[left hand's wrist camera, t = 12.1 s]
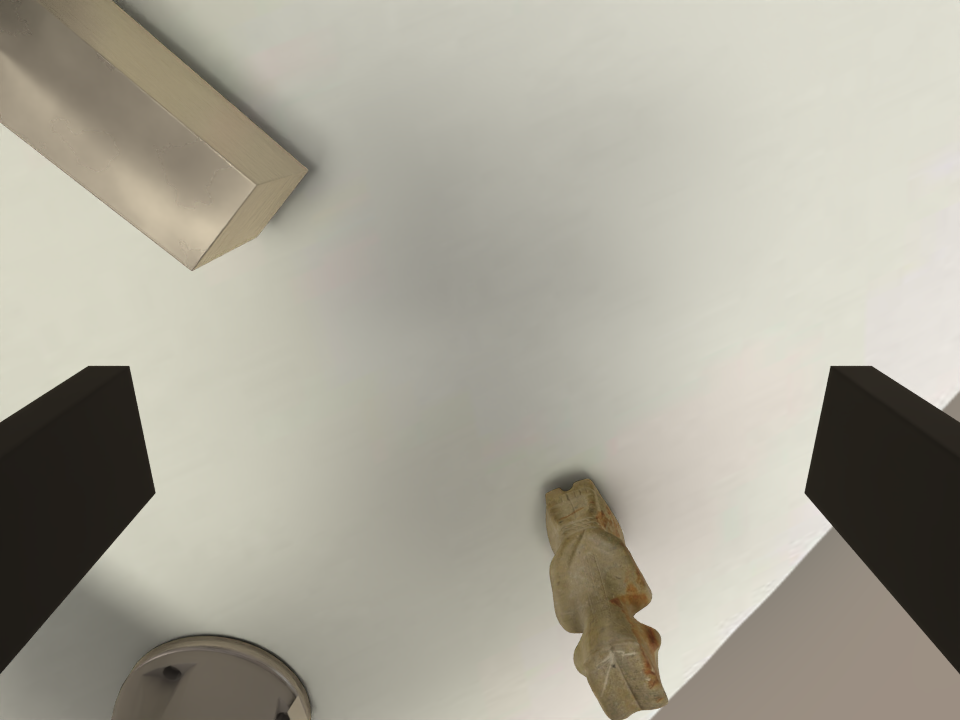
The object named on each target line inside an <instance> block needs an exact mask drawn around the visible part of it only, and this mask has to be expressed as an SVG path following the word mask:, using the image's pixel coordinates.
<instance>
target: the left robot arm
mask: <svg viewBox="0 0 960 720" xmlns="http://www.w3.org/2000/svg"><path fill="white" fill-rule="evenodd" d="M154 494H155V488H154V483H153V478H152V474H151V469H150V464H149V459H148V454H147V449H146V445H145V440H144V435H143V430H142V425H141V420H140V415H139V411H138V406H137V401H136V396H135V391H134V386H133V382H132V377H131V372H130V367H129V366H88V367H86V368H84V369H83V370H81V371H80V372H78V373H77V374H75V375H74V376H72V377H70V378H69V379H67V380H66V381H64V382H63V383H61V384H60V385H58V386H56V387H55V388H53V389H52V390H50V391H49V392H47V393H45V394H44V395H42V396H41V397H39V398H38V399H36V400H35V401H33V402H31V403H30V404H28V405H27V406H25V407H24V408H22V409H21V410H19V411H17V412H16V413H14V414H13V415H11V416H10V417H8V418H6V419H5V420H3V421H2V422H0V674H1V672H2V671H3V670H4V669H5V668H6V667H7V665H8V664H9V663H10V662H11V661H12V660H13V658H14V657H15V656H16V655H17V654H18V653H19V651H20V650H21V649H22V648H23V647H24V646H25V644H26V643H27V642H28V641H29V640H30V639H31V637H32V636H33V635H34V634H35V633H36V632H37V630H38V629H39V628H40V627H41V626H42V625H43V624H44V622H45V621H46V620H47V619H48V618H49V617H50V615H51V614H52V613H53V612H54V611H55V610H56V608H57V607H58V606H59V605H60V604H61V603H62V601H63V600H64V599H65V598H66V597H67V596H68V594H69V593H70V592H71V591H72V590H73V589H74V587H75V586H76V585H77V584H78V583H79V582H80V580H81V579H82V578H83V577H84V576H85V575H86V573H87V572H88V571H89V570H90V569H91V568H92V566H93V565H94V564H95V563H96V562H97V561H98V559H99V558H100V557H101V556H102V555H103V554H104V552H105V551H106V550H107V549H108V548H109V547H110V545H111V544H112V543H113V542H114V541H115V540H116V538H117V537H118V536H119V535H120V534H121V533H122V531H123V530H124V529H125V528H126V527H127V526H128V525H129V523H130V522H131V521H132V520H133V519H134V518H135V516H136V515H137V514H138V513H139V512H140V511H141V509H142V508H143V507H144V506H145V505H146V504H147V502H148V501H149V500H150V499H151V498H152V497H153V495H154ZM805 494H806V495H807V497H808V498H809V499H810V500H811V501H812V502H813V504H814V505H815V506H816V507H817V508H818V509H819V511H820V512H821V513H822V514H823V515H824V516H825V518H826V519H827V520H828V521H829V522H830V523H831V525H832V526H833V527H834V528H835V529H836V530H837V531H838V533H839V534H840V535H841V536H842V537H843V538H844V540H845V541H846V542H847V543H848V544H849V545H850V547H851V548H852V549H853V550H854V551H855V552H856V554H857V555H858V556H859V557H860V558H861V559H862V561H863V562H864V563H865V564H866V565H867V566H868V568H869V569H870V570H871V571H872V572H873V573H874V575H875V576H876V577H877V578H878V579H879V580H880V582H881V583H882V584H883V585H884V586H885V587H886V589H887V590H888V591H889V592H890V593H891V594H892V596H893V597H894V598H895V599H896V600H897V601H898V603H899V604H900V605H901V606H902V607H903V608H904V610H905V611H906V612H907V613H908V614H909V615H910V617H911V618H912V619H913V620H914V621H915V622H916V623H917V625H918V626H919V627H920V628H921V629H922V630H923V632H924V633H925V634H926V635H927V636H928V637H929V639H930V640H931V641H932V642H933V643H934V644H935V646H936V647H937V648H938V649H939V650H940V651H941V653H942V654H943V655H944V656H945V657H946V658H947V660H948V661H949V662H950V663H951V664H952V665H953V667H954V668H955V669H956V670H957V671H958V672H959V674H960V422H958V421H957V420H955V419H954V418H952V417H950V416H949V415H947V414H946V413H944V412H943V411H941V410H939V409H938V408H936V407H935V406H933V405H932V404H930V403H929V402H927V401H925V400H924V399H922V398H921V397H919V396H918V395H916V394H915V393H913V392H911V391H910V390H908V389H907V388H905V387H904V386H902V385H900V384H899V383H897V382H896V381H894V380H893V379H891V378H890V377H888V376H886V375H885V374H883V373H882V372H880V371H879V370H877V369H876V368H874V367H872V366H831V367H830V372H829V377H828V382H827V386H826V391H825V396H824V401H823V406H822V411H821V415H820V420H819V425H818V430H817V435H816V440H815V445H814V449H813V454H812V459H811V464H810V469H809V474H808V478H807V483H806V488H805ZM111 720H311V708H310V702H309V699H308V696H307V693H306V691H305V689H304V687H303V685H302V683H301V682H300V680H299V679H298V678H297V676H296V675H295V674H294V673H293V672H292V671H291V670H290V669H289V668H288V667H287V666H286V665H285V664H284V663H283V662H281V661H280V660H279V659H277V658H276V657H274V656H273V655H271V654H270V653H268V652H266V651H264V650H262V649H260V648H258V647H256V646H254V645H251V644H248V643H246V642H242V641H239V640H235V639H230V638H225V637H217V636H194V637H186V638H180V639H177V640H173V641H170V642H167V643H164V644H162V645H160V646H158V647H156V648H154V649H153V650H151V651H150V652H148V653H147V654H146V655H144V656H143V657H142V658H141V659H140V660H139V661H138V662H137V664H136V665H135V666H134V668H133V669H132V671H131V672H130V674H129V676H128V677H127V679H126V680H125V682H124V684H123V685H122V687H121V689H120V692H119V695H118V697H117V700H116V702H115V706H114V710H113V714H112V719H111Z"/></svg>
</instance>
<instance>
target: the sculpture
mask: <svg viewBox="0 0 960 720" xmlns="http://www.w3.org/2000/svg"><path fill="white" fill-rule="evenodd" d="M545 498H546V504H547V506H546V527H547V533H548V538H549V542H550V545H551V548H552V550H553V552H554V554H555V556H554V558H553V559H552V562H551V564H550V572H549V573H550V580H551V586H552V591H553V599H554V608H555V613H556V616H557V619H558V621H559V623H560V624H561V626H562V627H563V628H564V629H565V630H566V631H568V632H570V633H583V634H582V637H581V640H580V641H579V643H578V645H577V647H576V649H575V651H574V658H573V659H574V664H575V666H576V669H577V670H578V671H579V673H581V674H582V675H584V676H585V677H587V680H588V683H589V685H590V687H591V689H592V691H593V693H594V694H595V696H596V698H597V699H598V701H599V703H600V705H601V707H602V709H603V711H604V712H605V714H606V715H607V716H608V717H609V718H610V719H611V720H623V719H626V718H628V717H629V716H630V715H631V714H633V713H635V712H637V711H641V710H653V709H658V708H661V707H664V706H665V705H667V704H668V698H667V696H666V693H665V691H664V689H663V686H662V684H661V680H660V675H659V669H658V650H659V648H660V645H661V637H660V634H659V633H658V632H657V631H656V630H655V629H653V628H652V627H649V626H647V625H644V624H642V623H640V622H638V621H637V620H636V619H635V618H634V617H633V616H634V615H635V614H636V613H637V612H638V611H640V610H641V609H643V608H644V607H646V606H647V605H648V604H649V603H650V602H651V599H652V593H651V590H650V588H649V586H648V584H647V583H646V581H645V579H644V577H643V575H642V573H641V572H640V570H639V568H638V567H637V565H636V563H635V561H634V559H633V557H632V555H631V553H630V552H629V550H628V549H627V547H626V546H625V541H624V537H623V533H622V530H621V528H620V525H619V523H618V521H617V520H616V518H615V516H614V515H613V513H612V512H611V510H610V508H609V507H608V505H607V504H606V502H605V501H604V499H603V498H602V497H601V495H600V493H599V492H598V490H597V488H596V487H595V485H594V484H593V482H592V481H591V480H590V479H584V480H580V481H577V482H575V483H573V486H572V488H571V489H570V490H568V491H563V490H562V489H561V488H557V489H554V490H552V491H550V492H548V493H546V495H545Z"/></svg>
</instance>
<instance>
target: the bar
mask: <svg viewBox="0 0 960 720" xmlns="http://www.w3.org/2000/svg"><path fill="white" fill-rule="evenodd" d="M0 122H1V123H2V124H3V125H4V126H6V127H7V128H8V129H10V130H11V131H12V132H13V133H15V134H16V135H17V136H19V137H20V138H21V139H22V140H24V141H25V142H26V143H28V144H29V145H30V146H31V147H33V148H34V149H35V150H37V151H38V152H39V153H40V154H42V155H43V156H44V157H46V158H47V159H48V160H49V161H51V162H52V163H53V164H55V165H56V166H57V167H58V168H60V169H61V170H62V171H64V172H65V173H66V174H67V175H69V176H70V177H71V178H73V179H74V180H75V181H76V182H78V183H79V184H80V185H82V186H83V187H84V188H86V189H87V190H88V191H89V192H91V193H92V194H93V195H95V196H96V197H97V198H98V199H100V200H101V201H102V202H104V203H105V204H106V205H107V206H109V207H110V208H111V209H113V210H114V211H115V212H116V213H118V214H119V215H120V216H122V217H123V218H124V219H125V220H127V221H128V222H129V223H131V224H132V225H133V226H134V227H136V228H137V229H138V230H140V231H141V232H142V233H143V234H145V235H146V236H147V237H149V238H150V239H151V240H152V241H154V242H155V243H156V244H158V245H159V246H160V247H162V248H163V249H164V250H165V251H167V252H168V253H169V254H171V255H172V256H173V257H174V258H176V259H177V260H178V261H180V262H181V263H182V264H183V265H185V266H186V267H187V268H189V269H190V270H191V271H193V270H195V269H197V268H199V267H201V266H203V265H205V264H207V263H208V262H210V261H212V260H214V259H216V258H218V257H220V256H222V255H224V254H226V253H228V252H229V251H231V250H233V249H235V248H237V247H239V246H241V245H243V244H245V243H247V242H249V241H251V240H252V239H254V238H256V237H257V236H258V235H259V234H260V233H261V231H262V230H263V229H264V227H265V226H266V225H267V223H268V222H269V221H270V220H271V218H272V217H273V216H274V214H275V213H276V212H277V211H278V209H279V208H280V207H281V205H282V204H283V203H284V202H285V200H286V199H287V198H288V196H289V195H290V194H291V193H292V191H293V190H294V189H295V187H296V186H297V185H298V183H299V182H300V181H301V180H302V178H303V177H304V176H305V174H306V173H307V172H308V169H307V168H306V167H304V166H303V165H302V164H301V163H300V162H299V161H297V160H296V159H295V158H294V157H293V156H292V155H291V154H289V153H288V152H287V151H286V150H285V149H284V148H282V147H281V146H280V145H279V144H278V143H277V142H275V141H274V140H273V139H272V138H271V137H270V136H268V135H267V134H266V133H265V132H264V131H263V130H262V129H260V128H259V127H258V126H257V125H256V124H255V123H253V122H252V121H251V120H250V119H249V118H248V117H246V116H245V115H244V114H243V113H242V112H241V111H239V110H238V109H237V108H236V107H235V106H234V105H233V104H231V103H230V102H229V101H228V100H227V99H226V98H224V97H223V96H222V95H221V94H220V93H219V92H217V91H216V90H215V89H214V88H213V87H212V86H210V85H209V84H208V83H207V82H206V81H205V80H203V79H202V78H201V77H200V76H199V75H198V74H197V73H195V72H194V71H193V70H192V69H191V68H190V67H188V66H187V65H186V64H185V63H184V62H183V61H181V60H180V59H179V58H178V57H177V56H176V55H174V54H173V53H172V52H171V51H170V50H169V49H168V48H166V47H165V46H164V45H163V44H162V43H161V42H159V41H158V40H157V39H156V38H155V37H154V36H152V35H151V34H150V33H149V32H148V31H147V30H145V29H144V28H143V27H142V26H141V25H140V24H139V23H137V22H136V21H135V20H134V19H133V18H132V17H130V16H129V15H128V14H127V13H126V12H125V11H123V10H122V9H121V8H120V7H119V6H118V5H116V4H115V3H114V2H113V1H112V0H0Z"/></svg>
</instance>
